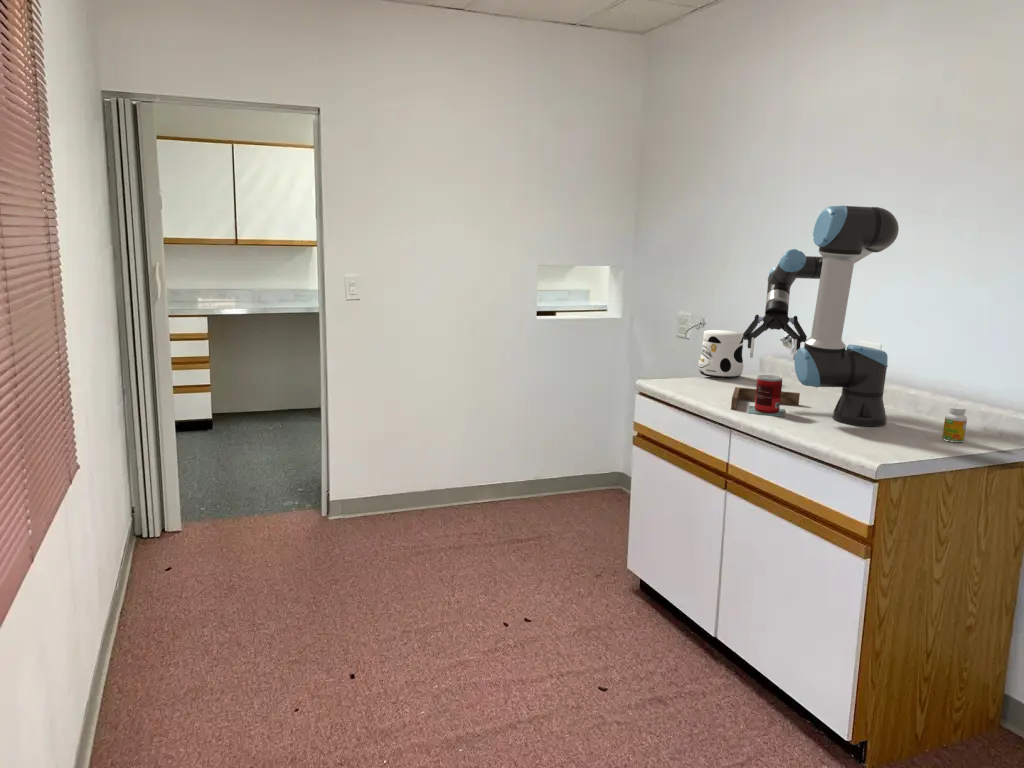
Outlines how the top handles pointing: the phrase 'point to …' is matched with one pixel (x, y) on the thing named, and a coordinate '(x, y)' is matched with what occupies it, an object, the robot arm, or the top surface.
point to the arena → (750, 395)
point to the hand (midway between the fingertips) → (772, 356)
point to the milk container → (721, 354)
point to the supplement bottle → (955, 424)
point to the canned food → (768, 393)
